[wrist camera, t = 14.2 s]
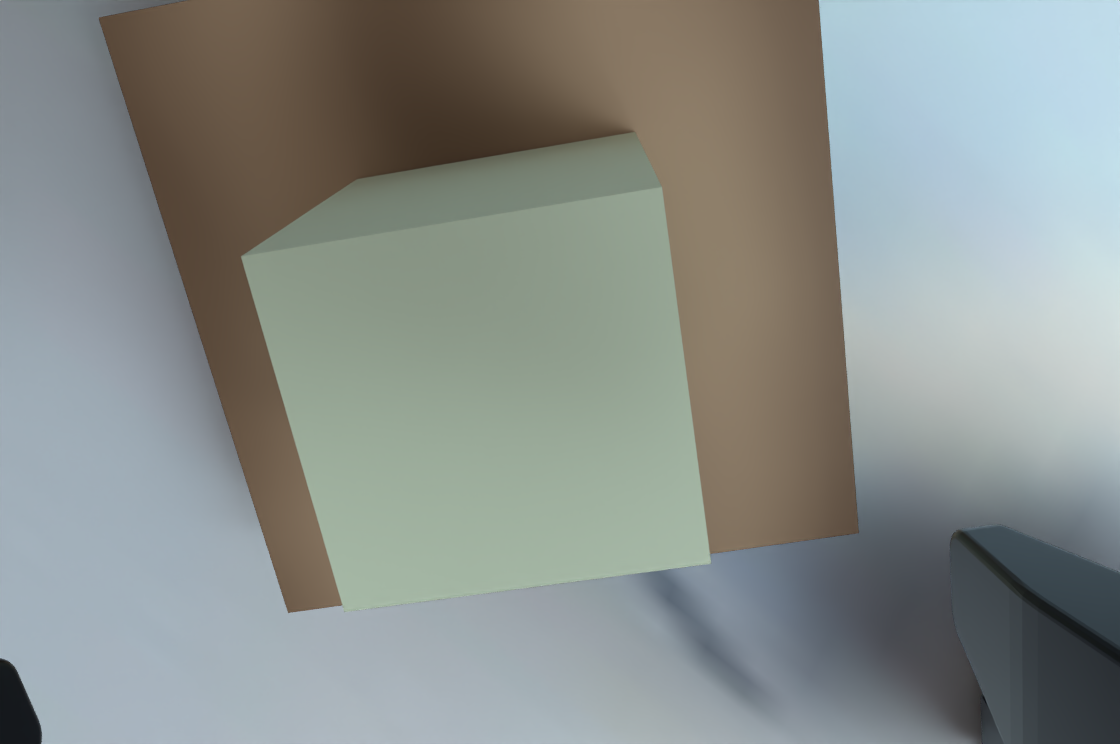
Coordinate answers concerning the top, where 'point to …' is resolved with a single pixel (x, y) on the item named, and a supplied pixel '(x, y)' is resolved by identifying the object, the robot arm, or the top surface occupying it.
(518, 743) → the top surface
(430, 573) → the sage block
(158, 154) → the brown flat block
